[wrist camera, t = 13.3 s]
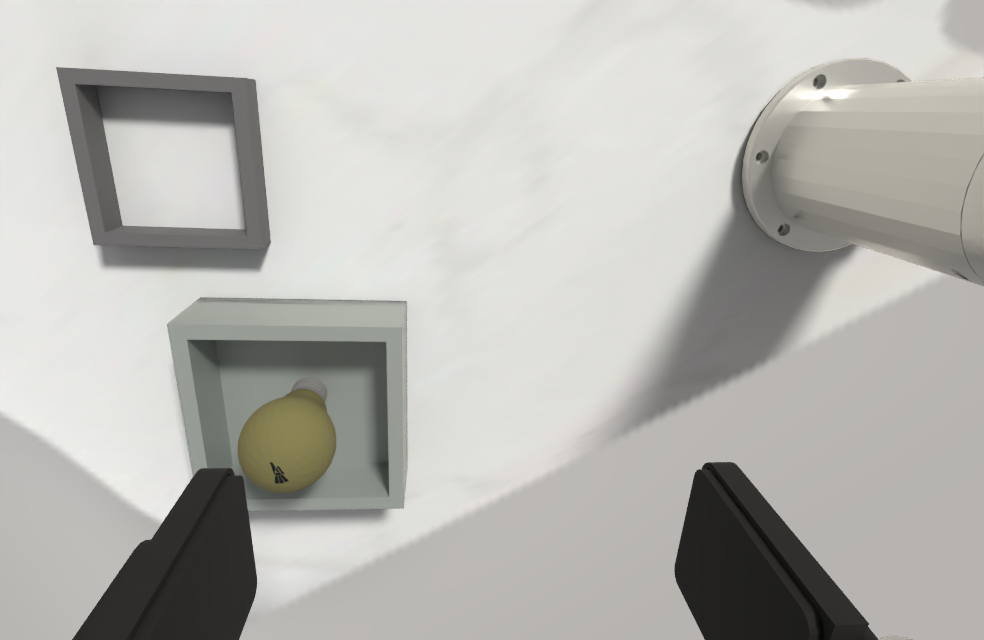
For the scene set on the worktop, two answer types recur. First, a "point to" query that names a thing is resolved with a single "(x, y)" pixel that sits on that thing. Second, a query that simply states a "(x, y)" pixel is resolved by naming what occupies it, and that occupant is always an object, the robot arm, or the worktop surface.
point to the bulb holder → (98, 172)
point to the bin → (272, 374)
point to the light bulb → (289, 440)
